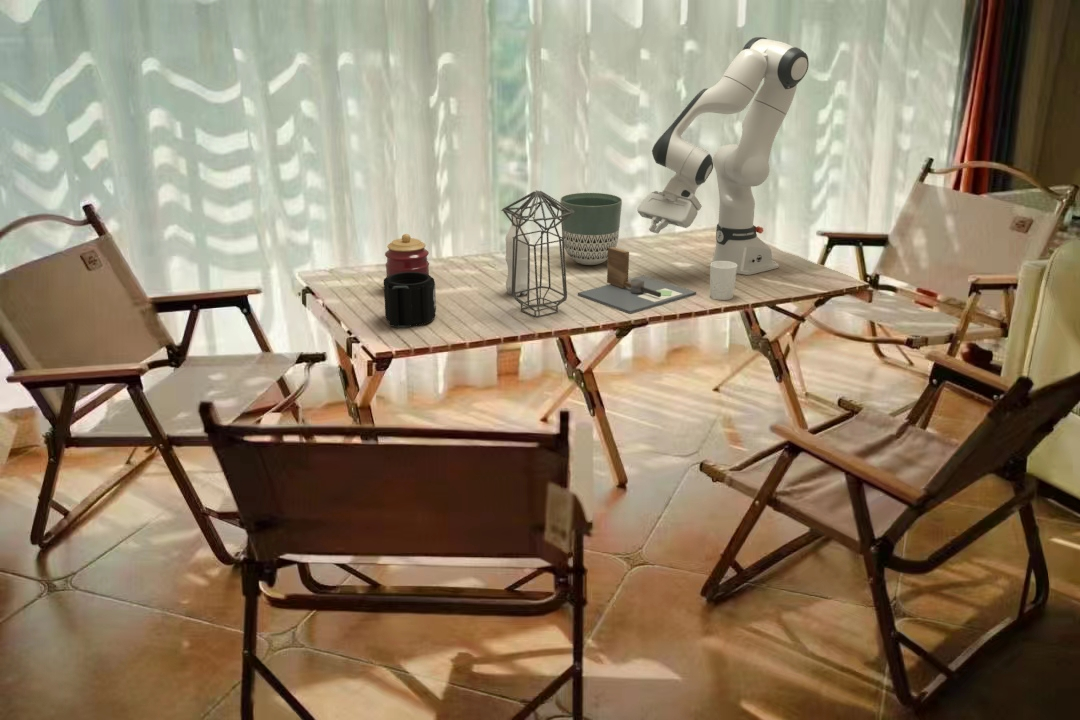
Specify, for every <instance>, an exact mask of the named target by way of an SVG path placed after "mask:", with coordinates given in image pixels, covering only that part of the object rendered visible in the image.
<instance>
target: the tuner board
mask: <svg viewBox="0 0 1080 720" xmlns="http://www.w3.org/2000/svg"><path fill="white" fill-rule="evenodd" d="M633 279H641V280H644V287H645V288H648V289H651V290H654V291H657V292H661V297H657V296H654V295H651V294H648V293H645V292H643V293H632V292H631V288H628V287H625V288H621V287H618V286H615V285H612V284H609V283H608V284H605V285H602V286H599V287H595V288H590V289H587V290H584V291H579V292H577V296H578V297H582V298H585V299H587V300H590V301H594V302H596V303H598V304H602V305H603V306H604V305H605V306H608V307H610V308H612V309H616V310H619V311H621V312H623V313H627V314H630V315H631V314H634V313H637V312H640V311H641V312H642V311H645V310H648V309H651V308H655V307H658V306H662V305H665V304H668V303H671V302H675V301H679V300H682V299H686V298H689V297H692V296H695V295H697V291H694V290H691V289H689V288H686V287H682V286H679V285H675V284H672V283H669V282H666V281H663V280H660V279H655V278H652V277H651V276H647V275H644V274H643V275H640V276H636V277H632V278H628V282H631V280H633Z"/></svg>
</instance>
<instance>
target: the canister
mask: <svg viewBox="0 0 1080 720" xmlns="http://www.w3.org/2000/svg"><path fill="white" fill-rule="evenodd" d="M425 248H426V243H425V242H422V240H420V239H418V238H411V236H410V234H408V233H404V234H403V235H402V236H401V238H396V239H394V240H392V241H391V242H390V243H388V244H387V249H388V250H386V252H384V256H385V258H386V263H385V264H384V265H385V269H386V272H385V273H386V277H388V276H390V275H392V274H396V273H401V272H420V273H425V274H428V275H430V272H429V271H430V268H429V267H430V266H429V265H430V262H429V260H428V256H429V255H430V254H429V250H427V249H425Z"/></svg>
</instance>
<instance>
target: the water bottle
mask: <svg viewBox="0 0 1080 720" xmlns="http://www.w3.org/2000/svg"><path fill="white" fill-rule="evenodd" d="M512 211H513V212H515V211H516V210H512ZM520 212H521V210H519V211H518V212H517V214H520ZM523 214H524V212H523V213H522V216H524V215H523ZM512 216H513V215H512ZM516 216H517V215H516ZM519 220H520V219H517V221H518V224H519ZM513 222H514V223H515V224H516V225H517V223H516V218H515V217H514V216H513ZM523 222H524V220H521V223H520V224H522V223H523ZM517 228H518V227H517ZM521 229H522V231H523V233H524V234H525V233H529V232H528V229H526V226H525V224H523V225H522V226H521ZM520 234H522V233H521V231H520V229H519V231H518V235H520ZM515 235H516V226H514V225H512V223H511V224H510V227H509V229H508V231H507V233H506V236H505V238H504V239H505V262H506V266H507V276H506V277H507V278H506V281H505V288H506V291H507V293H508V294H509V295H512V260H513V238H512V237H515ZM525 236H526V238H527V240H528V242H529V243H530V241H531V240H530V239H531V238H530V234H527V235H525ZM518 239H519V240H521V241H523V242H525V243H527V242H526V240H525V238H524V236H523V235H521V236H518ZM515 248H516V240H515ZM514 267H515V255H514ZM530 287H531V282H529V288H530ZM527 288H528V245H526V244H524V243H522V242H520V241H518V245H517V265H516V284H515V292H518V291H522V290H526V289H527ZM515 295H516V296H517V297H519V296H520V295H523V296H526V295H527V291H526V292H522V293H517V294H515Z"/></svg>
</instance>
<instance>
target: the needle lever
mask: <svg viewBox="0 0 1080 720" xmlns="http://www.w3.org/2000/svg"><path fill="white" fill-rule="evenodd" d="M629 259H630V251H628V250H626V249H621V248H618V247H616V248H615V247H610V248H608V259H607V269H606V270H607V271H606V272H607V274H606V276H607V277H606V283H607V284H608V285H609V284H612V285H615V286H618V287H621V288H625V287H628V288H631V292H632V293H643V292H645V293H648V294H651V295H654V296H657V297H661V292H657V291H654V290H651V289H648V288H645V287H644V280H641V279H633V280H631V282H628V279H629V264H630V263H629V261H630V260H629Z"/></svg>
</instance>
